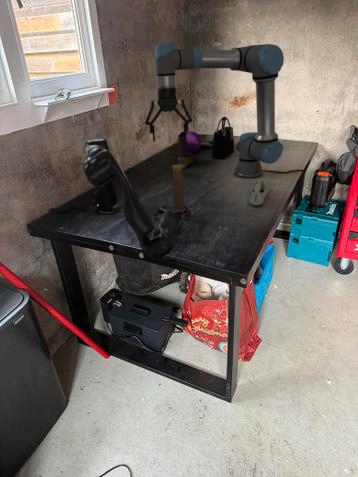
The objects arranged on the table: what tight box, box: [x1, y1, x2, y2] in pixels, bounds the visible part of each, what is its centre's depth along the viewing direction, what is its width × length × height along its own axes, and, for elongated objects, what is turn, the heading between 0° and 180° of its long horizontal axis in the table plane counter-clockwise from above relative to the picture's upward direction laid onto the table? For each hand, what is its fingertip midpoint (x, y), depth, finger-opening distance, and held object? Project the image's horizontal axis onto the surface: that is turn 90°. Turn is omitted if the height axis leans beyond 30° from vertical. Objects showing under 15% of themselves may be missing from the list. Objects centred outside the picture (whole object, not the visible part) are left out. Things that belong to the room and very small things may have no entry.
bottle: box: [172, 170, 186, 214], centre depth 145 cm, size 5×5×21 cm
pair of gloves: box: [199, 134, 214, 149], centre depth 251 cm, size 30×26×5 cm
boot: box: [176, 131, 195, 169], centre depth 209 cm, size 9×24×20 cm, turn 168°
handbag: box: [211, 116, 236, 160], centre depth 219 cm, size 21×9×25 cm, turn 148°
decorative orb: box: [186, 130, 202, 154], centre depth 230 cm, size 15×15×15 cm
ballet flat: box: [249, 179, 269, 207], centre depth 158 cm, size 8×24×8 cm, turn 163°
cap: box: [171, 163, 183, 172], centre depth 140 cm, size 4×4×2 cm
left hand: (175, 207), depth 139 cm, fingers open, 8 cm apart
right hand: (169, 140), depth 145 cm, fingers open, 13 cm apart
